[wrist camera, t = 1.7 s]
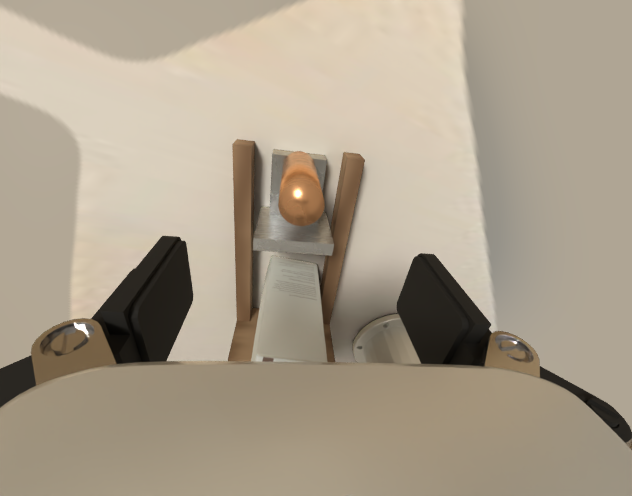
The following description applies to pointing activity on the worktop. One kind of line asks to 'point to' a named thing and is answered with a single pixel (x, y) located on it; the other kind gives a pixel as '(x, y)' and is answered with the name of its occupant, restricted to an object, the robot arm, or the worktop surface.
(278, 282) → the skincare box
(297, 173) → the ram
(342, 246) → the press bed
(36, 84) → the worktop surface
